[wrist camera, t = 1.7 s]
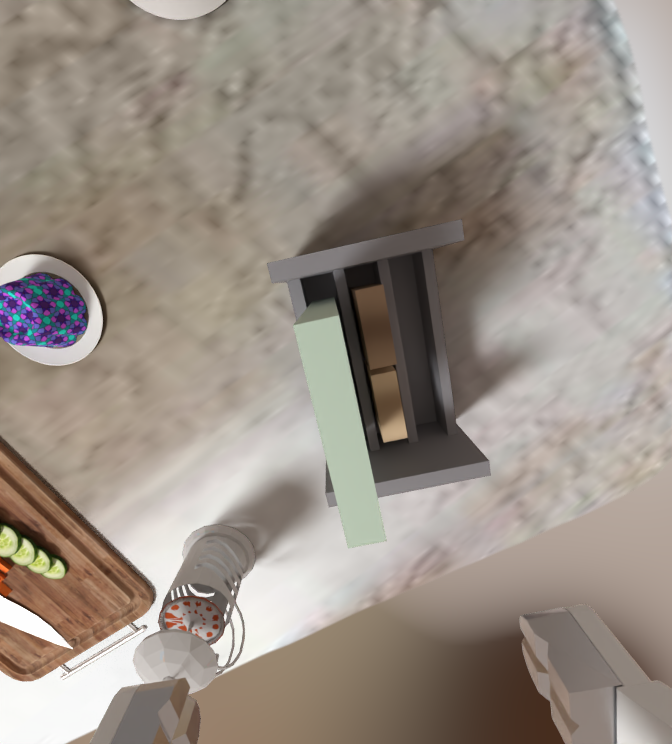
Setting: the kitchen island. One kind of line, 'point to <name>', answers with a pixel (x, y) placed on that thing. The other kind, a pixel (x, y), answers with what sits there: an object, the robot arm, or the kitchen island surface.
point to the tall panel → (339, 421)
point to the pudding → (47, 310)
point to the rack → (412, 349)
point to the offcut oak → (387, 402)
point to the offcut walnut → (373, 325)
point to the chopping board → (56, 581)
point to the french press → (197, 610)
